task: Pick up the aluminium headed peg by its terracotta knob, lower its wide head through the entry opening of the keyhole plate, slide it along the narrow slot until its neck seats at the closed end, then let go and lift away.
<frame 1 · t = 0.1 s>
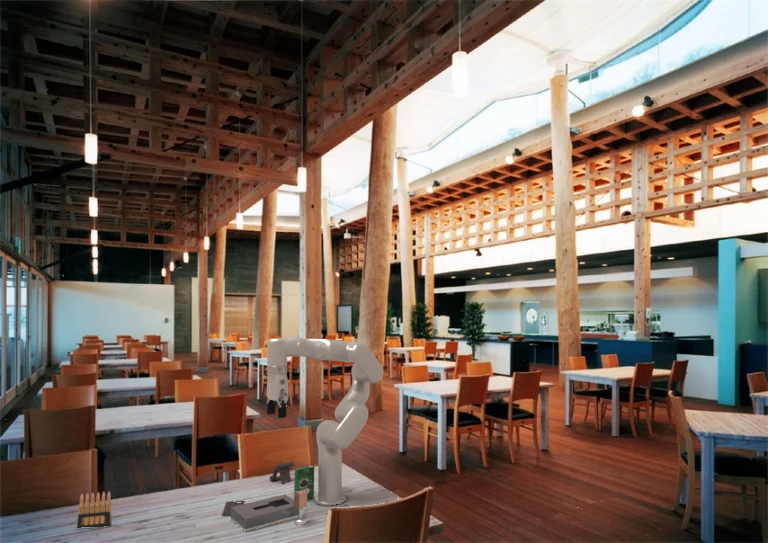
hand: (276, 415, 198), 37 cm above the table, tool pointing down, fingers open, 9 cm apart
coffee box: (304, 500, 210), on the table
smartphone: (233, 510, 201), on the table
ammunition clip: (94, 527, 185), on the table
keyhole plate: (266, 518, 191), on the table
portable electronic device stand: (282, 481, 234), on the table
peg: (301, 523, 187), on the table
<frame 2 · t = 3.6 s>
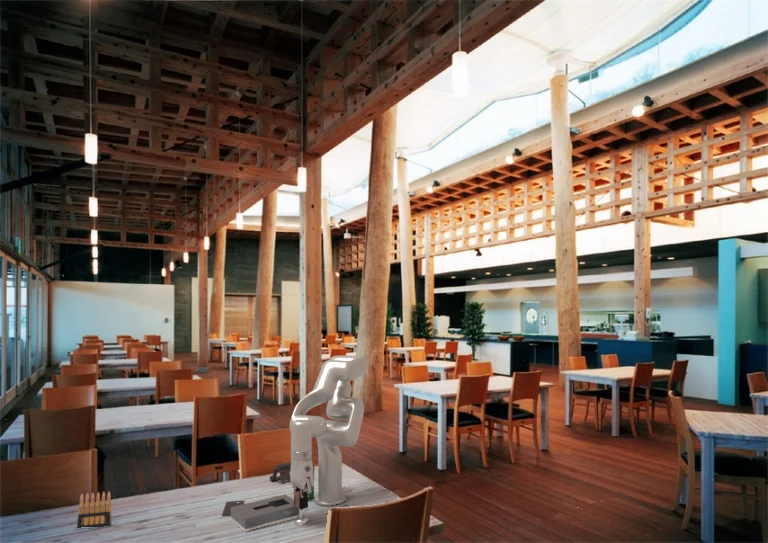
hand: (301, 506, 187), 6 cm above the table, tool pointing down, fingers closed on peg, 3 cm apart
peg: (301, 523, 187), on the table, touching gripper
everything else where it was.
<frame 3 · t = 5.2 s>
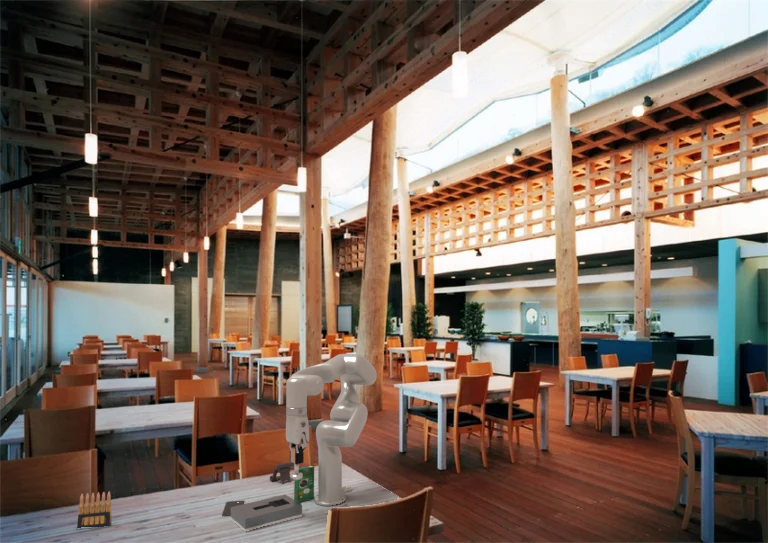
hand: (296, 461, 190), 21 cm above the table, tool pointing down, fingers closed on peg, 3 cm apart
peg: (296, 478, 190), point 15 cm above the table, touching gripper
everything else where it was.
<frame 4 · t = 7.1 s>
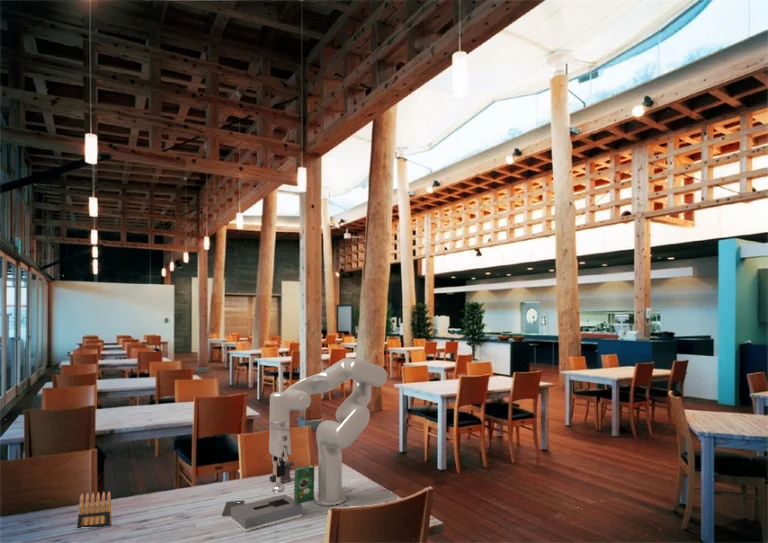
hand: (278, 474, 196), 15 cm above the table, tool pointing down, fingers closed on peg, 3 cm apart
peg: (278, 490, 195), point 9 cm above the table, touching gripper
everything else where it was.
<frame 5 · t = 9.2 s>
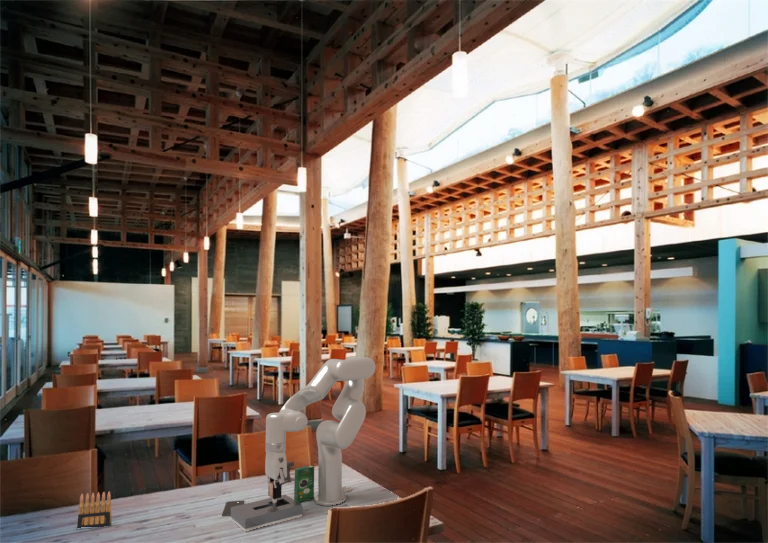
hand: (274, 496, 194), 7 cm above the table, tool pointing down, fingers closed on peg, 3 cm apart
peg: (274, 512, 193), point 1 cm above the table, touching gripper
everything else where it was.
when the fingers open (7 cm above the table, at t = 11.0 s): peg stays where it is, resting on keyhole plate.
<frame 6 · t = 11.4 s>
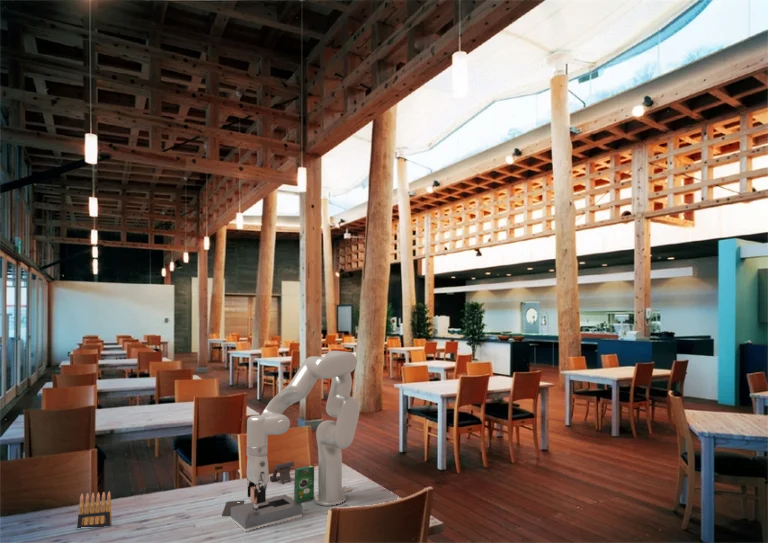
hand: (256, 499, 190), 8 cm above the table, tool pointing down, fingers open, 7 cm apart
peg: (256, 518, 189), point 1 cm above the table, touching keyhole plate
everything else where it was.
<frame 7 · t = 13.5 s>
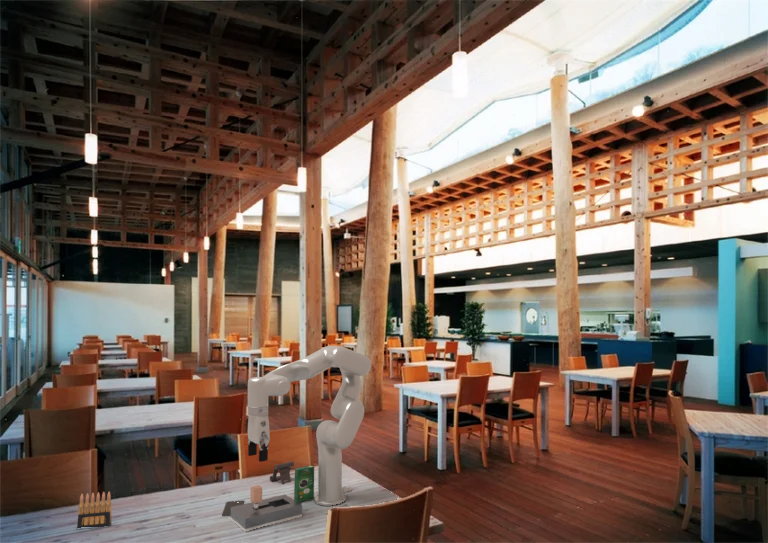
hand: (257, 458, 191), 22 cm above the table, tool pointing down, fingers open, 9 cm apart
nothing on the table moved.
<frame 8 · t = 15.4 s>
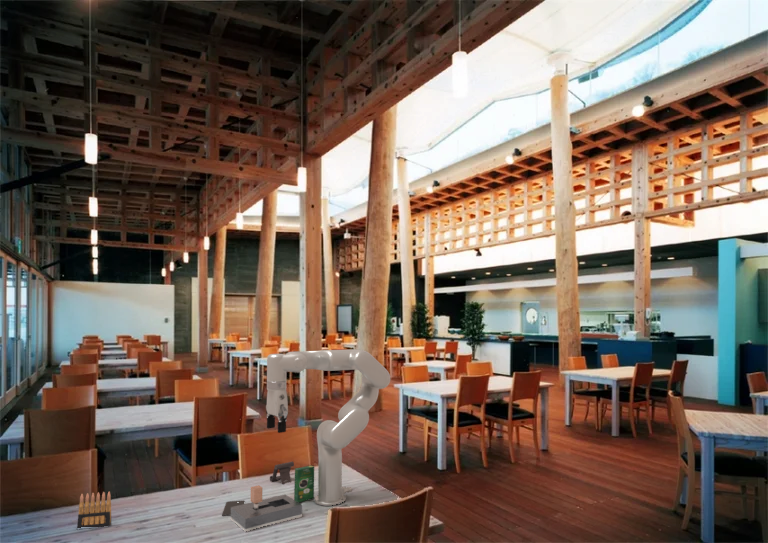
hand: (276, 430, 202), 30 cm above the table, tool pointing down, fingers open, 9 cm apart
nothing on the table moved.
at the end: peg 0.1 cm from the target spot on the keyhole plate, point 1.0 cm above the keyhole plate's base; peg tilted 0°; the gripper is holding nothing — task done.
